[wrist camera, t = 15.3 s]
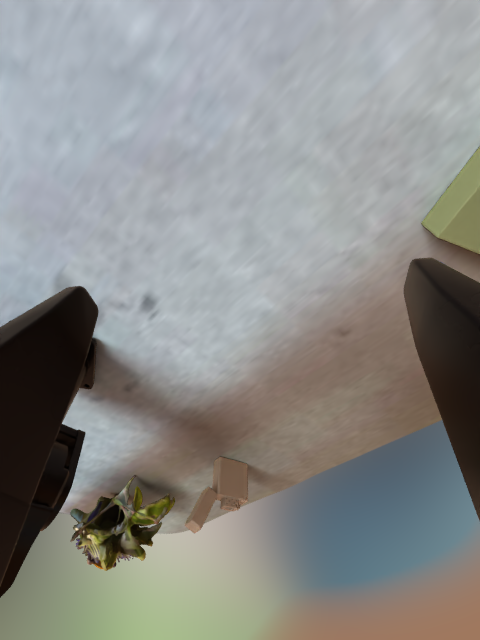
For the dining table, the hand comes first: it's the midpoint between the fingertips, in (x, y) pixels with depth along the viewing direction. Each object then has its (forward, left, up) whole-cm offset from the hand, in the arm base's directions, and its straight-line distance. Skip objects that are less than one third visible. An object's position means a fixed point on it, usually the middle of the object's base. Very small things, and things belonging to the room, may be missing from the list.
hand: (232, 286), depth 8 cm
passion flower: (-45, +1, -11) cm, 46 cm away
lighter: (-33, -9, -11) cm, 35 cm away
